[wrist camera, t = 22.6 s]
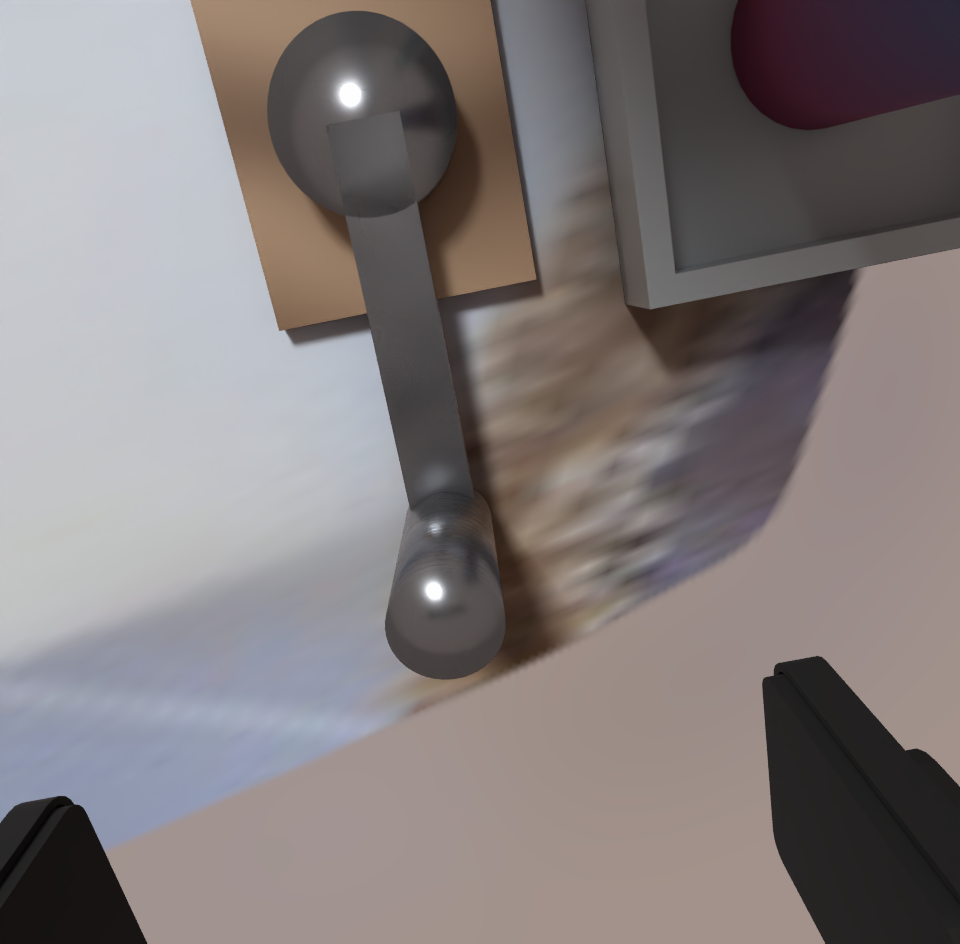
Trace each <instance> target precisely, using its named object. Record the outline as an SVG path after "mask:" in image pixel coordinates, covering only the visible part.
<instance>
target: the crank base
mask: <svg viewBox="0 0 960 944" xmlns="http://www.w3.org/2000/svg"><path fill="white" fill-rule="evenodd" d="M191 4H192V7H193V11H194V15H195V19H196V22H197V26H198V30H199V33H200V37H201V41H202V45H203V48H204V52H205V56H206V60H207V63H208V67H209V71H210V74H211V78H212V82H213V86H214V89H215V93H216V97H217V101H218V104H219V108H220V112H221V115H222V119H223V123H224V127H225V130H226V134H227V138H228V141H229V145H230V149H231V153H232V156H233V160H234V164H235V168H236V171H237V175H238V179H239V182H240V186H241V190H242V194H243V197H244V201H245V205H246V209H247V212H248V216H249V220H250V223H251V227H252V231H253V235H254V238H255V242H256V246H257V249H258V253H259V257H260V261H261V264H262V268H263V272H264V276H265V279H266V283H267V287H268V290H269V294H270V298H271V302H272V305H273V309H274V313H275V317H276V320H277V324H278V328H279V331H281V330H286V329H291V328H296V327H301V326H306V325H311V324H316V323H321V322H326V321H331V320H336V319H341V318H346V317H351V316H356V315H361V314H366V313H367V311H366V307H365V302H364V298H363V293H362V289H361V284H360V279H359V275H358V270H357V266H356V261H355V257H354V252H353V248H352V243H351V239H350V234H349V230H348V225H347V221H346V216H342V215H340V214H338V213H336V212H333V211H331V210H329V209H327V208H325V207H323V206H321V205H320V204H318V203H316V202H315V201H313V200H312V199H311V198H309V197H308V196H307V195H306V194H304V193H303V192H302V191H301V190H300V189H299V188H298V187H297V186H296V185H295V184H294V182H293V181H292V180H291V178H290V177H289V176H288V174H287V173H286V171H285V170H284V168H283V166H282V165H281V163H280V161H279V159H278V157H277V154H276V152H275V150H274V147H273V144H272V140H271V137H270V132H269V127H268V118H267V100H268V91H269V86H270V81H271V78H272V75H273V72H274V69H275V67H276V65H277V63H278V60H279V58H280V56H281V55H282V53H283V52H284V50H285V49H286V47H287V46H288V45H289V43H290V42H291V41H292V40H293V39H294V38H295V37H296V36H297V35H298V34H299V33H300V32H301V31H302V30H303V29H305V28H306V27H307V26H309V25H311V24H312V23H314V22H315V21H317V20H319V19H321V18H324V17H326V16H328V15H332V14H335V13H339V12H346V11H369V12H375V13H380V14H383V15H386V16H389V17H391V18H394V19H396V20H398V21H400V22H402V23H403V24H405V25H406V26H408V27H409V28H411V29H412V30H414V31H415V32H416V33H417V34H418V35H420V36H421V37H422V38H423V39H424V40H425V41H426V42H427V43H428V45H429V46H430V47H431V48H432V49H433V50H434V52H435V53H436V55H437V56H438V58H439V59H440V61H441V62H442V64H443V66H444V68H445V70H446V72H447V74H448V77H449V80H450V83H451V85H452V89H453V93H454V98H455V104H456V113H457V136H456V144H455V150H454V153H453V157H452V161H451V163H450V166H449V168H448V171H447V173H446V175H445V176H444V178H443V180H442V182H441V183H440V185H439V186H438V187H437V189H436V190H435V191H434V192H433V193H432V194H431V195H430V197H429V198H428V199H427V200H425V201H424V202H423V203H422V204H420V205H419V207H420V212H421V217H422V223H423V228H424V233H425V238H426V243H427V249H428V254H429V259H430V264H431V269H432V275H433V280H434V285H435V290H436V295H437V299H441V298H446V297H451V296H456V295H461V294H466V293H471V292H476V291H481V290H486V289H491V288H496V287H501V286H506V285H511V284H516V283H521V282H526V281H531V280H536V274H535V268H534V262H533V256H532V250H531V244H530V238H529V232H528V226H527V220H526V214H525V207H524V201H523V195H522V189H521V183H520V177H519V171H518V165H517V159H516V153H515V147H514V141H513V135H512V129H511V123H510V116H509V110H508V104H507V98H506V92H505V86H504V80H503V74H502V68H501V62H500V56H499V50H498V44H497V38H496V32H495V25H494V19H493V13H492V7H491V1H490V0H191Z"/></svg>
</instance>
